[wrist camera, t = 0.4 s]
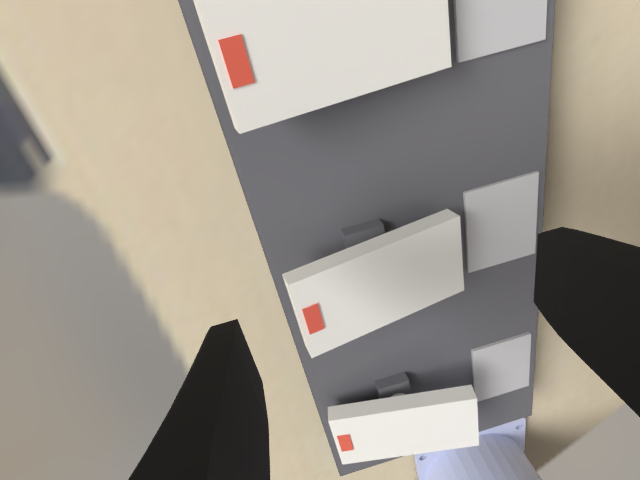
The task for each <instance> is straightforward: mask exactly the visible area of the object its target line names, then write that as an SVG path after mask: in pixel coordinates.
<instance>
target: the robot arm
mask: <svg viewBox="0 0 640 480" xmlns="http://www.w3.org/2000/svg"><path fill="white" fill-rule="evenodd" d="M534 303H535V305H536V306H537V307H538V309H539V310H540V312H541V313H542V314H543V316H544V317H545V318H546V320H547V321H548V322H549V324H550V325H551V326H552V327H553V329H554V330H555V331H556V332H557V334H558V335H559V336H560V337H561V338H562V339H563V340H564V342H565V343H566V344H567V345H568V346H569V347H570V348H571V349H572V350H573V351H574V352H575V353H576V354H577V355H578V356H579V357H580V358H581V359H582V360H583V361H584V362H585V363H586V364H587V365H588V366H589V367H590V368H591V369H592V370H593V371H594V372H595V373H596V374H597V375H598V376H599V377H600V378H601V379H602V380H603V381H604V382H605V383H606V384H607V385H608V386H609V387H610V388H611V389H612V390H613V391H614V392H615V393H616V394H617V395H618V396H619V397H620V398H621V399H622V400H623V401H624V402H625V403H626V404H627V405H628V406H629V407H630V408H631V409H632V410H633V411H634V412H635V413H636V414H637V415H638V416H639V417H640V247H637V246H633V245H630V244H626V243H623V242H619V241H616V240H612V239H609V238H605V237H601V236H598V235H594V234H590V233H586V232H583V231H578V230H574V229H569V228H565V227H560V228H557V229H553V230H550V231H546V232H543V233H539V234H538V237H537V253H536V270H535V286H534ZM525 430H526V418H525V417H524V418H521V419H518V420H515V421H512V422H509V423H506V424H503V425H499V426H496V427H493V428H490V429H487V430H484V431H481V432H479V445H478V446H471V447H464V448H457V449H450V450H443V451H435V452H428V453H421V454H414V458H415V464H416V470H417V475H418V480H541V478H540V476H539V475H538V473H537V472H536V470H535V469H534V467H533V466H532V464H531V463H530V461H529V460H528V458H527V457H526V455H525V454H524V452H525ZM129 480H270V457H269V427H268V417H267V410H266V403H265V396H264V390H263V383H262V380H261V377H260V375H259V372H258V370H257V367H256V365H255V362H254V360H253V357H252V355H251V352H250V350H249V347H248V345H247V342H246V340H245V337H244V335H243V332H242V330H241V327H240V325H239V322H238V320H237V319H236V320H233V321H229V322H226V323H222V324H219V325H215V326H212V327H210V329H209V331H208V332H207V334H206V336H205V339H204V341H203V343H202V345H201V347H200V349H199V352H198V354H197V356H196V358H195V360H194V362H193V364H192V366H191V369H190V371H189V373H188V375H187V377H186V379H185V381H184V383H183V385H182V387H181V389H180V391H179V393H178V394H177V396H176V399H175V400H174V402H173V404H172V406H171V408H170V410H169V412H168V414H167V416H166V417H165V419H164V421H163V422H162V424H161V426H160V428H159V430H158V431H157V433H156V435H155V436H154V438H153V440H152V442H151V443H150V445H149V447H148V449H147V450H146V452H145V454H144V455H143V457H142V459H141V460H140V462H139V463H138V465H137V467H136V468H135V470H134V471H133V473H132V475H131V476H130V478H129Z"/></svg>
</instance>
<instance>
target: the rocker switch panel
mask: <svg viewBox="0 0 640 480" xmlns="http://www.w3.org/2000/svg"><path fill="white" fill-rule="evenodd" d="M178 2H179V4H180V7H181V10H182V13H183V16H184V19H185V22H186V25H187V28H188V31H189V34H190V37H191V40H192V43H193V46H194V48H195V51H196V54H197V57H198V60H199V63H200V66H201V69H202V72H203V75H204V78H205V81H206V84H207V87H208V90H209V93H210V95H211V98H212V101H213V104H214V107H215V110H216V113H217V116H218V119H219V122H220V125H221V128H222V131H223V134H224V137H225V140H226V142H227V145H228V148H229V151H230V154H231V157H232V160H233V163H234V166H235V169H236V172H237V175H238V178H239V181H240V184H241V186H242V189H243V192H244V195H245V198H246V201H247V204H248V207H249V210H250V213H251V216H252V219H253V222H254V225H255V228H256V231H257V233H258V236H259V239H260V242H261V245H262V248H263V251H264V254H265V257H266V260H267V263H268V266H269V269H270V272H271V275H272V277H273V280H274V283H275V286H276V289H277V292H278V295H279V298H280V301H281V304H282V307H283V310H284V313H285V316H286V319H287V322H288V324H289V327H290V330H291V333H292V336H293V339H294V342H295V345H296V348H297V351H298V354H299V357H300V360H301V363H302V366H303V368H304V371H305V374H306V377H307V380H308V383H309V386H310V389H311V392H312V395H313V398H314V401H315V404H316V407H317V410H318V413H319V415H320V418H321V421H322V424H323V427H324V430H325V433H326V436H327V439H328V442H329V445H330V448H331V451H332V454H333V457H334V460H335V462H336V465H337V468H338V471H339V474H340V476H343V475H346V474H349V473H352V472H356V471H359V470H362V469H365V468H368V467H371V466H374V465H377V464H381V463H384V462H387V461H390V460H393V459H396V458H399V457H393V458H386V459H379V460H372V461H365V462H358V463H350V464H343V465H342V462H341V459H340V456H339V453H338V450H337V447H336V444H335V441H334V438H333V435H332V431H331V428H330V425H329V422H328V407H330V406H337V405H343V404H350V403H356V402H363V401H369V400H375V399H382V398H388V397H391V396H392V395H394V394H396V393H403V394H405V395H408V394H414V393H420V392H427V391H433V390H440V389H446V388H453V387H459V386H465V385H472V387H473V390H474V392H475V395H476V397H477V407H478V430H479V432H481V431H484V430H487V429H490V428H493V427H496V426H499V425H503V424H506V423H509V422H512V421H515V420H518V419H521V418H524V417H528V416H531V415H532V403H533V385H534V367H535V349H536V332H537V314H538V307H537V306H536V305H535V303H534V286H535V270H536V253H537V237H538V234H539V233H542V225H543V207H544V190H545V172H546V154H547V136H548V119H549V101H550V83H551V66H552V48H553V30H554V12H555V0H448V13H449V30H450V48H451V66H452V67H449V68H446V69H443V70H440V71H437V72H434V73H430V74H427V75H424V76H421V77H418V78H415V79H411V80H408V81H405V82H402V83H399V84H396V85H393V86H389V87H386V88H383V89H380V90H377V91H374V92H370V93H367V94H364V95H361V96H358V97H355V98H352V99H348V100H345V101H342V102H339V103H336V104H333V105H330V106H326V107H323V108H320V109H317V110H314V111H311V112H307V113H304V114H301V115H298V116H295V117H292V118H289V119H285V120H282V121H279V122H276V123H273V124H270V125H267V126H263V127H260V128H257V129H254V130H251V131H248V132H244V133H241V134H239V133H238V132H237V131H236V129H235V128H234V125H233V122H232V119H231V116H230V112H229V109H228V106H227V103H226V100H225V97H224V94H223V91H222V88H221V85H220V82H219V79H218V75H217V72H216V69H215V66H214V63H213V60H212V57H211V54H210V51H209V48H208V45H207V42H206V39H205V35H204V32H203V29H202V26H201V23H200V20H199V17H198V14H197V11H196V8H195V5H194V2H193V0H178ZM445 209H449V210H451V211H452V212H454V213H456V214H458V215H459V216H460V224H461V242H462V260H463V277H464V291H461V292H459V293H457V294H455V295H452V296H450V297H448V298H446V299H443V300H441V301H439V302H437V303H435V304H432V305H430V306H428V307H426V308H423V309H421V310H419V311H417V312H414V313H412V314H410V315H408V316H405V317H403V318H401V319H399V320H396V321H394V322H392V323H390V324H388V325H385V326H383V327H381V328H379V329H376V330H374V331H372V332H370V333H367V334H365V335H363V336H361V337H358V338H356V339H354V340H352V341H350V342H347V343H345V344H343V345H341V346H338V347H336V348H334V349H332V350H329V351H327V352H325V353H323V354H320V355H318V356H316V357H314V358H311V356H310V354H309V352H308V350H307V348H306V346H305V343H304V340H303V337H302V334H301V331H300V328H299V325H298V322H297V319H296V316H295V313H294V309H293V306H292V303H291V300H290V297H289V294H288V291H287V288H286V285H285V282H284V279H283V276H282V274H284V273H286V272H289V271H291V270H294V269H296V268H299V267H301V266H304V265H306V264H309V263H311V262H314V261H316V260H319V259H321V258H324V257H327V256H329V255H332V254H334V253H337V252H339V251H342V250H344V249H347V248H349V247H352V246H354V245H357V244H359V243H362V242H364V241H367V240H369V239H372V238H374V237H377V236H379V235H382V234H385V233H387V232H390V231H392V230H395V229H397V228H400V227H402V226H405V225H407V224H410V223H412V222H415V221H417V220H420V219H422V218H425V217H427V216H430V215H432V214H435V213H437V212H440V211H443V210H445ZM400 457H402V456H400Z"/></svg>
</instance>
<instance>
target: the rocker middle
mask: <svg viewBox="0 0 640 480" xmlns="http://www.w3.org/2000/svg"><path fill="white" fill-rule="evenodd" d="M282 276H283V279H284V282H285V285H286V288H287V291H288V294H289V297H290V300H291V303H292V306H293V309H294V313H295V316H296V319H297V322H298V325H299V328H300V331H301V334H302V337H303V340H304V343H305V346H306V348H307V350H308V352H309V354H310V356H311V358H314V357H316V356H318V355H320V354H323V353H325V352H327V351H329V350H332V349H334V348H336V347H338V346H341V345H343V344H345V343H347V342H350V341H352V340H354V339H356V338H358V337H361V336H363V335H365V334H367V333H370V332H372V331H374V330H376V329H379V328H381V327H383V326H385V325H388V324H390V323H392V322H394V321H396V320H399V319H401V318H403V317H405V316H408V315H410V314H412V313H414V312H417V311H419V310H421V309H423V308H426V307H428V306H430V305H432V304H435V303H437V302H439V301H441V300H443V299H446V298H448V297H450V296H452V295H455V294H457V293H459V292H461V291H464V277H463V260H462V242H461V224H460V216H459V215H458V214H456V213H454V212H452V211H451V210H449V209H445V210H443V211H440V212H437V213H435V214H432V215H430V216H427V217H425V218H422V219H420V220H417V221H415V222H412V223H410V224H407V225H405V226H402V227H400V228H397V229H395V230H392V231H390V232H387V233H385V234H382V235H379V236H377V237H374V238H372V239H369V240H367V241H364V242H362V243H359V244H357V245H354V246H352V247H349V248H347V249H344V250H342V251H339V252H337V253H334V254H332V255H329V256H327V257H324V258H321V259H319V260H316V261H314V262H311V263H309V264H306V265H304V266H301V267H299V268H296V269H294V270H291V271H289V272H286V273H284V274H282Z"/></svg>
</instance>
